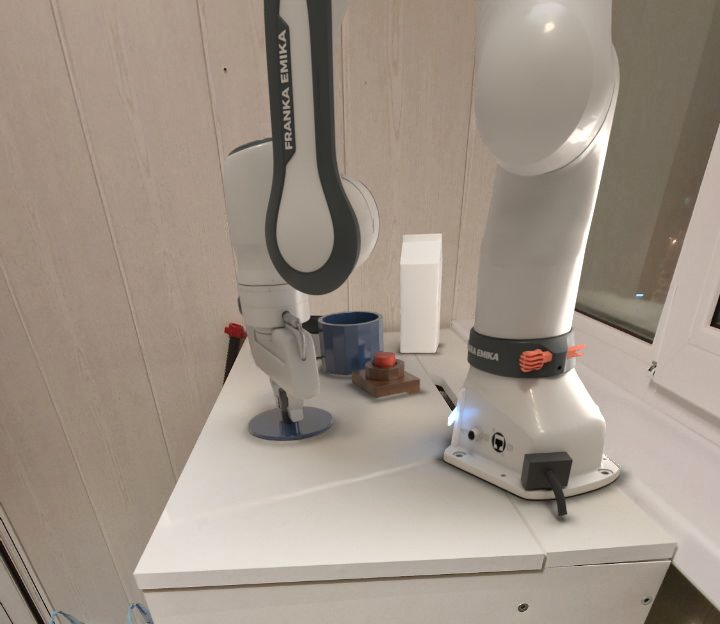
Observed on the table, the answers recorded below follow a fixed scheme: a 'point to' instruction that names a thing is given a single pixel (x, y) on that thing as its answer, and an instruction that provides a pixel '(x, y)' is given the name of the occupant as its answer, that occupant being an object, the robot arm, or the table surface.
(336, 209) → the robot arm
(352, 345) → the pot
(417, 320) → the milk carton
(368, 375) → the block
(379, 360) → the button
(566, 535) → the table surface
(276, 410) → the lid
